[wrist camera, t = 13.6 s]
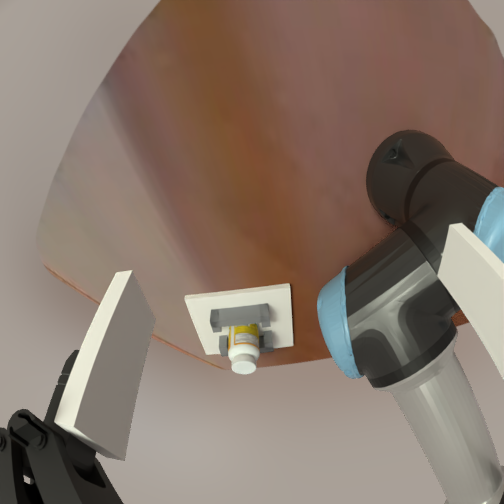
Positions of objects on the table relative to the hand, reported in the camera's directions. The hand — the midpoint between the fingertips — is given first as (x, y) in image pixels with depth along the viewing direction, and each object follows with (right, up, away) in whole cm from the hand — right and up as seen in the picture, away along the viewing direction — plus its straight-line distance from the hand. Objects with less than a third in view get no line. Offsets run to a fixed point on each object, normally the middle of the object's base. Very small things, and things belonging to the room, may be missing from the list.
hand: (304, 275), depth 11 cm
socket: (-4, -12, +42) cm, 44 cm away
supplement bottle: (-4, -13, +41) cm, 43 cm away
